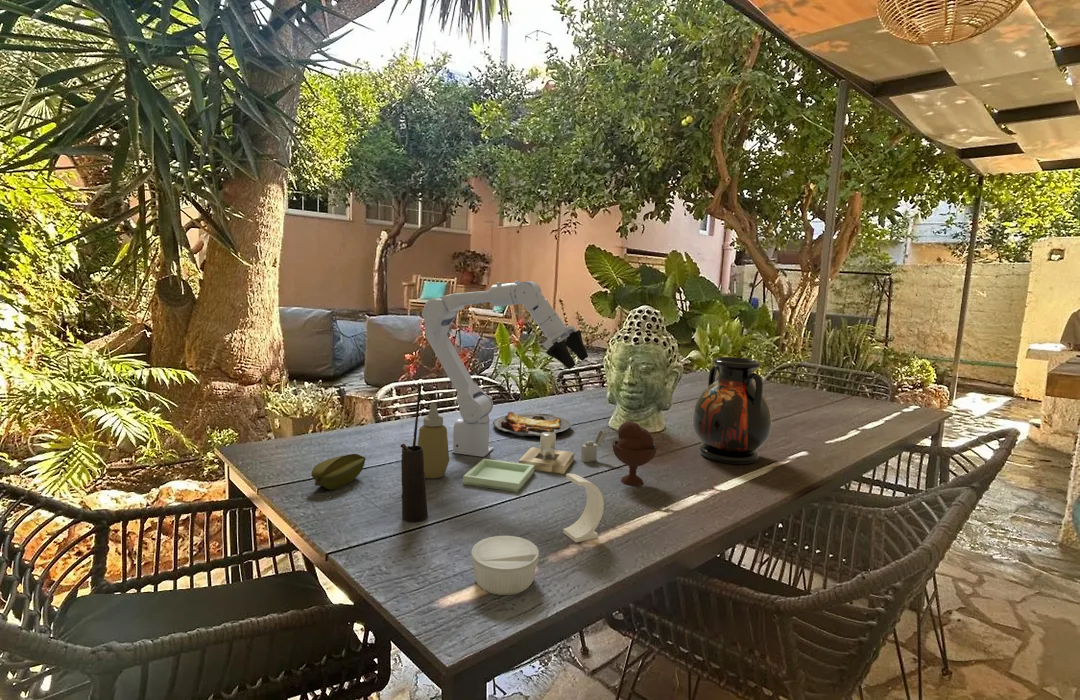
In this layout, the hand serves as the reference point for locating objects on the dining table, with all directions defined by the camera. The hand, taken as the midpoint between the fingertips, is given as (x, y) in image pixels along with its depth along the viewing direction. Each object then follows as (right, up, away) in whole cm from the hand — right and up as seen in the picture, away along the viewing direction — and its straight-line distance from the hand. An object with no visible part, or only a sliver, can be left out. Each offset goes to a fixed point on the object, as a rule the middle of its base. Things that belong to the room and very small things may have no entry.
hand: (579, 362), depth 151 cm
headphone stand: (-2, -33, -37) cm, 49 cm away
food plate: (-13, -22, +37) cm, 45 cm away
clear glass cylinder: (-8, -27, +4) cm, 28 cm away
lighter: (+4, -27, +9) cm, 29 cm away
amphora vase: (+44, -27, +17) cm, 54 cm away
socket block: (-8, -27, +4) cm, 28 cm away
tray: (-20, -28, -8) cm, 35 cm away
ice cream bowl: (+13, -29, -6) cm, 33 cm away
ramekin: (-16, -35, -54) cm, 67 cm away
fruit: (-56, -28, -16) cm, 65 cm away
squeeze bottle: (-36, -27, -8) cm, 46 cm away
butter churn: (-37, -31, -32) cm, 57 cm away
